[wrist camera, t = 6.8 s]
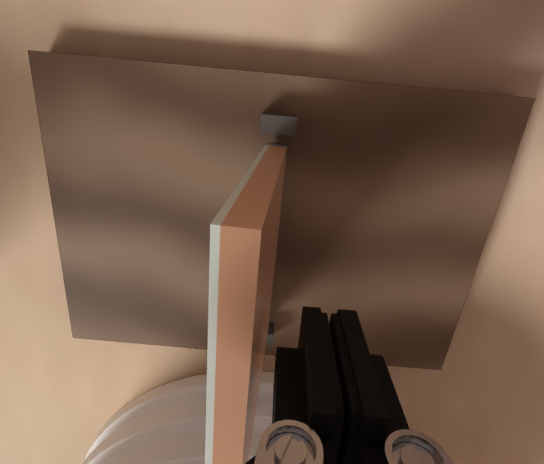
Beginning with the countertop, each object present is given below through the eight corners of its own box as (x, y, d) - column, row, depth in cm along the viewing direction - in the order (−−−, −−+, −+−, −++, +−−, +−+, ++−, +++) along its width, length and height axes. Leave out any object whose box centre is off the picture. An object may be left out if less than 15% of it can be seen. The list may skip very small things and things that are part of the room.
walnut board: (48, 52, 17) (9, 47, 15) (515, 97, 18) (553, 99, 15) (85, 322, 24) (61, 351, 21) (431, 353, 24) (449, 384, 21)
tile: (288, 143, 17) (267, 141, 17) (261, 229, 7) (210, 224, 7) (270, 317, 21) (253, 314, 21) (235, 538, 11) (203, 532, 11)
